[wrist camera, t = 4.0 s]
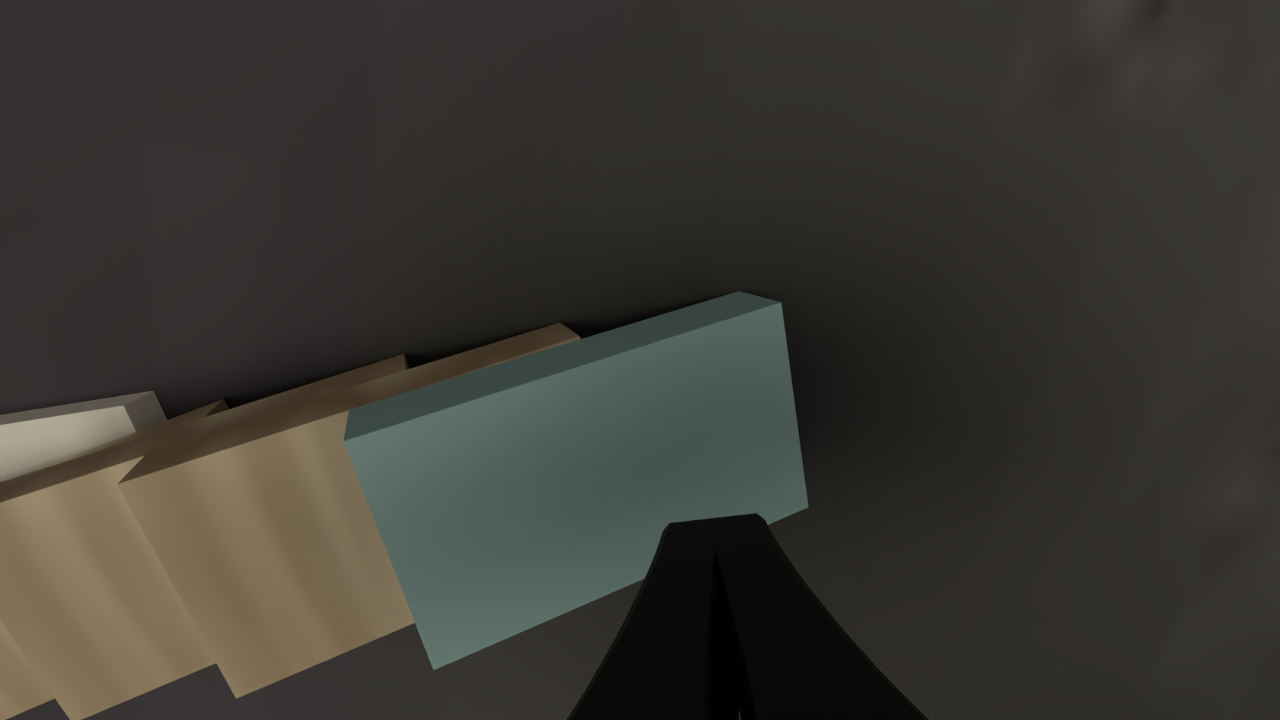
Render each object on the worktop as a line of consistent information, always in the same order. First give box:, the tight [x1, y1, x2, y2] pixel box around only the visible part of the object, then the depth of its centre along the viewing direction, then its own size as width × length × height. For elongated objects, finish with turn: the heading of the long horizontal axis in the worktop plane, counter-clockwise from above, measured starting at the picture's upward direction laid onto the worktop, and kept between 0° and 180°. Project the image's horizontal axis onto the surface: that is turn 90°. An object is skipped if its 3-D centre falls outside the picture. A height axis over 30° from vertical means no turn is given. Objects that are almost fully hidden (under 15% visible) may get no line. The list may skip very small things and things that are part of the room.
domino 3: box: [0, 354, 410, 720], centre depth 13 cm, size 2×5×8 cm
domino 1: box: [0, 391, 167, 482], centre depth 16 cm, size 2×5×8 cm
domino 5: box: [343, 291, 808, 670], centre depth 12 cm, size 2×5×8 cm
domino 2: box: [0, 399, 229, 720], centre depth 14 cm, size 2×5×8 cm
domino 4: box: [117, 323, 580, 698], centre depth 13 cm, size 2×5×8 cm
